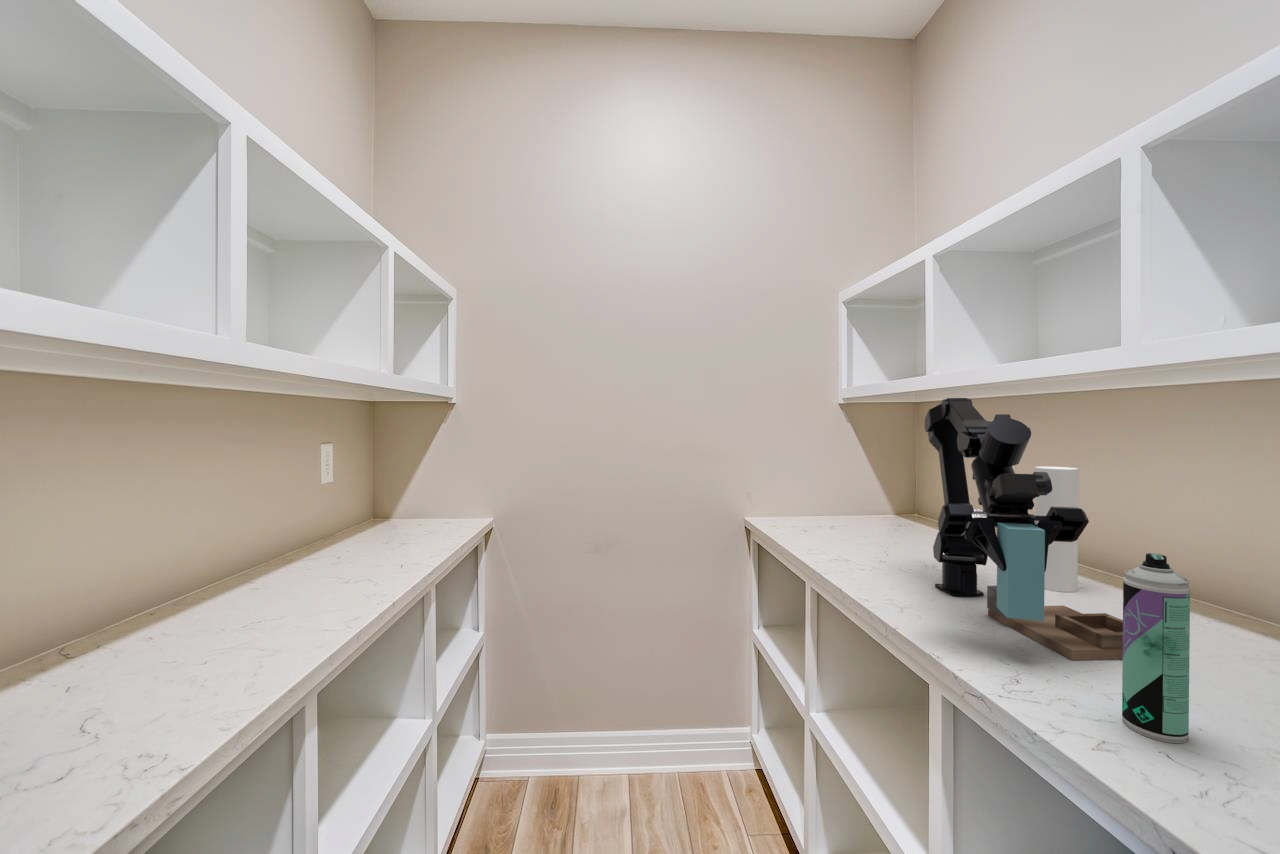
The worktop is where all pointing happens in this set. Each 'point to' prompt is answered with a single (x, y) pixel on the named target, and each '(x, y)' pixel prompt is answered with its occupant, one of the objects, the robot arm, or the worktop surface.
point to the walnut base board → (1068, 631)
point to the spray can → (1156, 651)
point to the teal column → (1021, 571)
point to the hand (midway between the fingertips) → (1023, 570)
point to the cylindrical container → (1060, 554)
